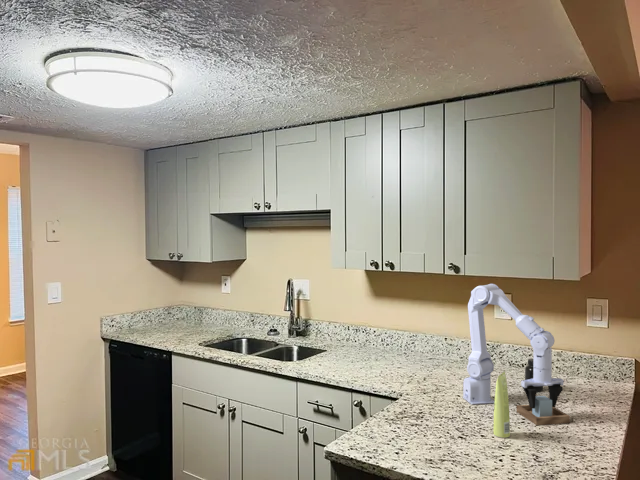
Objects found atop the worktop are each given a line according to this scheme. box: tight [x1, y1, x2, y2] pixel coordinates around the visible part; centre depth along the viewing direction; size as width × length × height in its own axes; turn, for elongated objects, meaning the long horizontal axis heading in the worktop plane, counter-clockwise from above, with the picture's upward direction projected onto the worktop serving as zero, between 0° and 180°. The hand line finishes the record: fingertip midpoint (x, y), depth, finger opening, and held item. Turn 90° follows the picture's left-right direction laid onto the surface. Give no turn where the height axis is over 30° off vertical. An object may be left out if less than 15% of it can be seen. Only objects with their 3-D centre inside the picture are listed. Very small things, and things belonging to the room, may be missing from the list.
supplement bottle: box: [524, 358, 544, 393], centre depth 196 cm, size 7×7×12 cm
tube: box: [493, 370, 511, 439], centre depth 153 cm, size 6×5×20 cm
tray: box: [516, 404, 571, 426], centre depth 167 cm, size 12×12×2 cm
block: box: [532, 395, 552, 417], centre depth 167 cm, size 4×4×6 cm
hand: (542, 406), depth 167 cm, fingers open, 7 cm apart
